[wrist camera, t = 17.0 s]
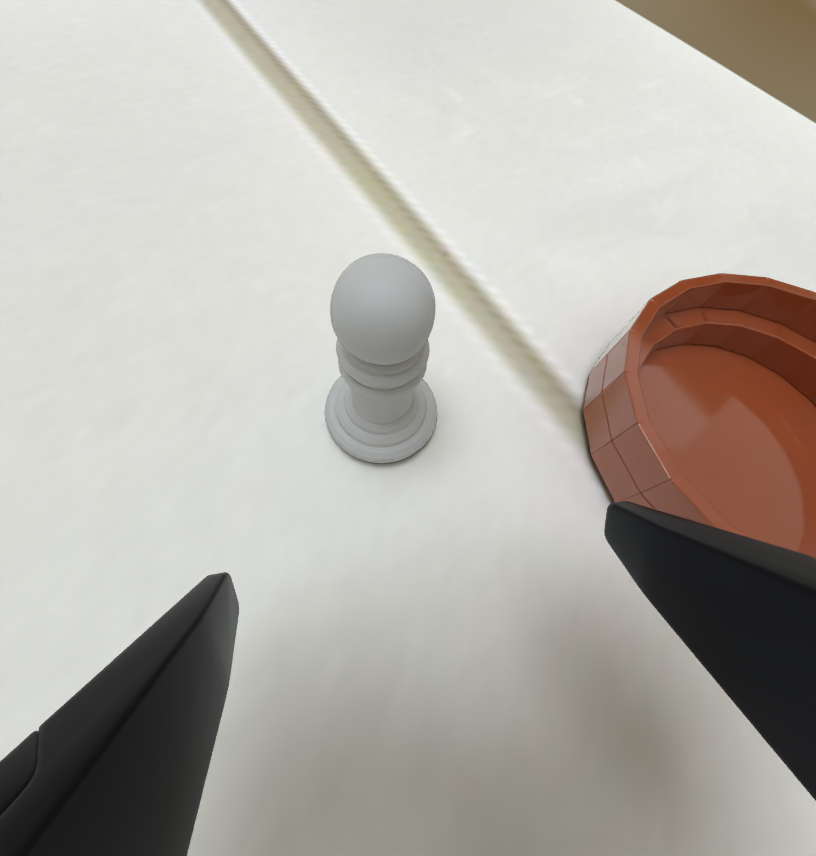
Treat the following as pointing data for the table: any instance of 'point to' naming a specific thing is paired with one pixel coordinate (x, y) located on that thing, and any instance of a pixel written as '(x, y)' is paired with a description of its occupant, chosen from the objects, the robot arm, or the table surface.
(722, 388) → the bowl
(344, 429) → the chess piece
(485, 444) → the table surface
